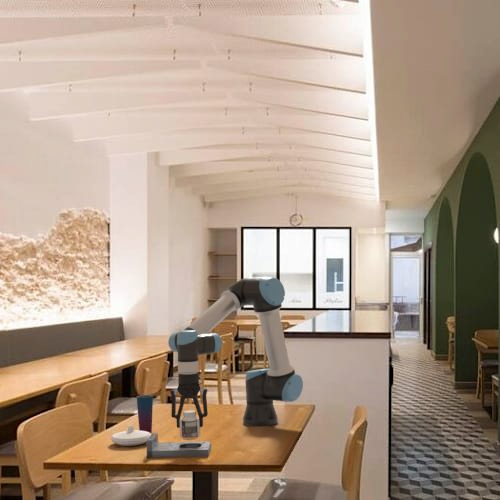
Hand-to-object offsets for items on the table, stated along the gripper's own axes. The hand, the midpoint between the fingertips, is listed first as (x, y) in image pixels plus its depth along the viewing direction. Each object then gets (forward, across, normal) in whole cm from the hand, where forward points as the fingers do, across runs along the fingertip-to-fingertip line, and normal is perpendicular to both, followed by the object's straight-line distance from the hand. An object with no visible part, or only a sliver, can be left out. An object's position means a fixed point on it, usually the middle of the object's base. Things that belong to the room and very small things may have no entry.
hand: (190, 436), depth 264 cm
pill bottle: (+1, 0, 0) cm, 1 cm away
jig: (+6, +4, 0) cm, 7 cm away
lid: (+6, +25, -17) cm, 31 cm away
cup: (+6, +23, -38) cm, 45 cm away
